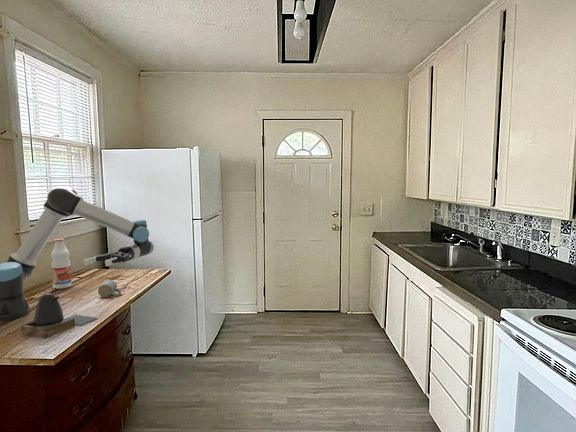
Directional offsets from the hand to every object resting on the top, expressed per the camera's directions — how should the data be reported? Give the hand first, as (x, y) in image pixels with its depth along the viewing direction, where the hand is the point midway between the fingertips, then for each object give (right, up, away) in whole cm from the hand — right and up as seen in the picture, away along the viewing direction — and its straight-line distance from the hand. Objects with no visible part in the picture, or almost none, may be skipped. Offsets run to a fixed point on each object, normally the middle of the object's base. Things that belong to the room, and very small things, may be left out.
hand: (94, 263), depth 175 cm
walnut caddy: (-7, -25, -21) cm, 33 cm away
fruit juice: (-41, -19, +43) cm, 62 cm away
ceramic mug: (-5, -21, +26) cm, 33 cm away
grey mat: (-2, -24, -11) cm, 26 cm away
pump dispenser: (-7, -25, -21) cm, 33 cm away
